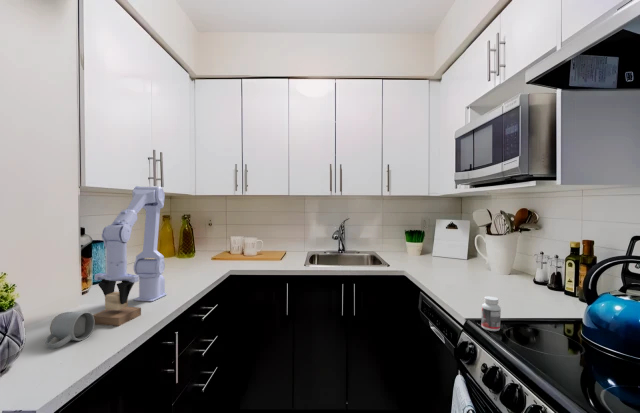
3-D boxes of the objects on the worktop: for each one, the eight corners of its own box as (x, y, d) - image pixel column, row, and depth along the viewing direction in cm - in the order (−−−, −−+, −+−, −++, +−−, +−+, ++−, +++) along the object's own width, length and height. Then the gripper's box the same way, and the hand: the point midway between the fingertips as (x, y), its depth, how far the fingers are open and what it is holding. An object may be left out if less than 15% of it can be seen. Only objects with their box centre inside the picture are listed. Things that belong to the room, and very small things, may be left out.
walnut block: (115, 314, 116) (114, 305, 116) (141, 316, 114) (140, 307, 114) (90, 325, 106) (90, 315, 106) (118, 327, 104) (118, 318, 104)
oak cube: (115, 304, 112) (115, 291, 112) (127, 305, 112) (127, 292, 111) (105, 309, 108) (105, 295, 108) (117, 310, 107) (117, 296, 107)
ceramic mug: (70, 332, 99) (69, 306, 99) (95, 333, 98) (95, 308, 98) (36, 349, 89) (35, 320, 88) (64, 351, 88) (63, 322, 87)
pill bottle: (477, 325, 110) (478, 295, 110) (493, 324, 110) (494, 295, 110) (487, 331, 104) (488, 300, 104) (503, 331, 105) (504, 300, 105)
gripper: (86, 262, 106) (86, 305, 107) (127, 265, 104) (127, 308, 105) (104, 258, 113) (104, 298, 114) (143, 260, 111) (143, 301, 112)
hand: (116, 302), depth 110 cm, fingers closed on oak cube, 4 cm apart
